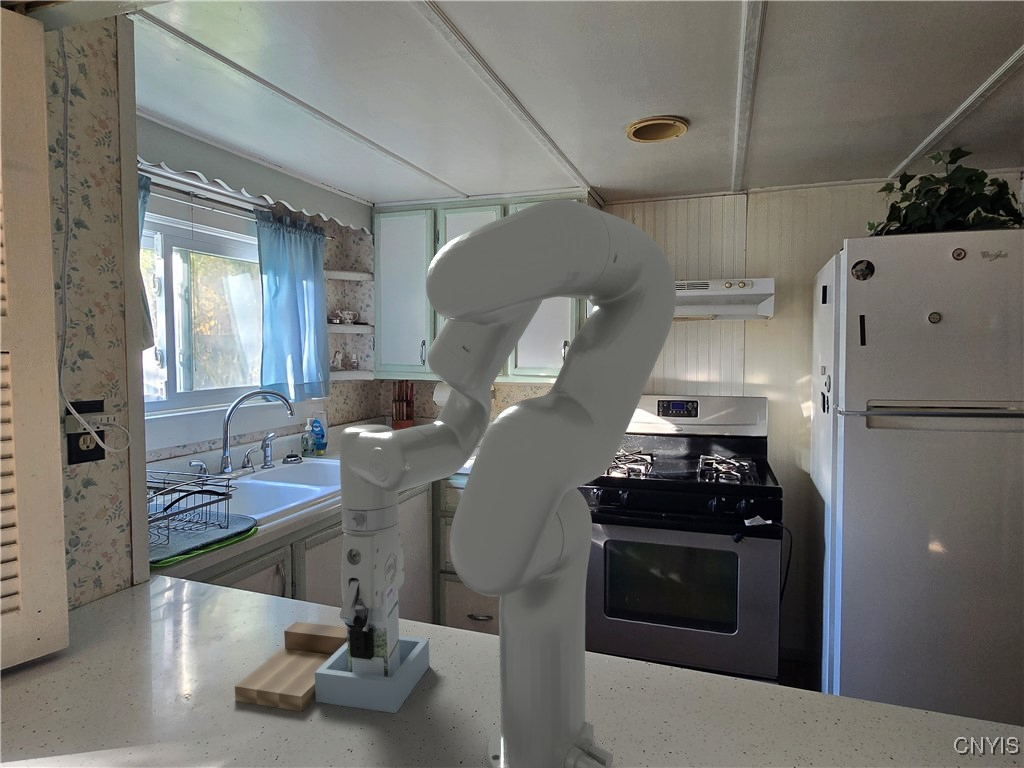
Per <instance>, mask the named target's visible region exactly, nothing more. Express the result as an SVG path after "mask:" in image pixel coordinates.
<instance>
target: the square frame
mask: <svg viewBox="0 0 1024 768" xmlns="http://www.w3.org/2000/svg"><path fill="white" fill-rule="evenodd" d="M399 653H400V667H399V669H398V670H397V671H396V672H395V674H394V675H393V676H392V677H391V678H390V677H383V676H375V675H367V674H360V673H352V672H348V644H347V642H346V643H345V644H344V645H343V646H342V647H341V648H339V649H338V650H337V651H336V652H335V653H334V654H333V655H332V656H331V657H330V658H329V659H328V660H327V661H326V662H325V663H324V664H323V665H322V666H321V667H320V668H319V669H318V670H317V671H315V693H316V698H315V702H316V703H322V702H323V703H324V704H328V705H329V704H330V705H334V706H335V705H337V706H342V705H343V706H344V707H348V708H349V707H350V708H355V709H356V708H357V709H364V710H371V711H376V712H377V711H378V712H384V713H391V714H397V713H398V711H399V710H400V708H401V707H402V705H403V704H404V702H405V701H406V700H407V699H408V697H409V696H410V695H411V693H412V691H413V690H414V689H415V687H416V686H417V685H418V683H419V682H420V680H421V678H422V677H423V675H424V674H425V672H427V671H428V669H429V667H430V639H429V638H423V637H422V638H420V637H411V636H404V635H403V636H402V635H399ZM323 703H322V704H323Z"/></svg>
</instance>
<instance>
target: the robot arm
mask: <svg viewBox="0 0 1024 768" xmlns="http://www.w3.org/2000/svg"><path fill="white" fill-rule="evenodd" d="M425 279H426V280H425V281H426V282H425V288H426V289H425V291H426V296H427V299H428V301H429V304H430V305H431V307H432V309H433V310H434V311H435V312H436V313H437V314H438V315H439V316H440V317H442V318H444V319H445V320H444V323H443V324H442V326H441V328H440V329H439V331H438V333H437V335H436V337H435V339H434V340H433V342H432V344H431V345H430V346H429V347H430V348H429V349H428V351H427V359H426V360H427V364H428V366H429V368H430V370H431V371H432V372H433V374H434V375H435V376H436V378H437V379H439V381H441V382H442V383H443V384H445V385H446V386H447V387H449V388H450V393H449V395H448V397H447V400H446V402H445V404H444V406H443V408H442V409H441V411H440V413H439V414H438V416H437V417H436V419H435V420H434V422H433V423H428V424H424V425H417V426H411V427H407V428H402V429H397V430H394V429H393V428H392V427H391V426H388V425H386V424H385V425H383V424H361V425H353V426H349V427H346V428H344V430H341V433H340V435H339V444H338V445H339V471H340V472H339V475H340V476H339V478H340V479H339V480H340V505H341V506H340V507H341V508H340V509H341V530H342V532H344V533H343V541H342V551H341V552H342V553H341V554H342V555H341V573H340V574H341V577H340V578H341V582H340V583H341V597H342V603H343V604H342V606H341V609H340V612H339V618H340V619H341V620H342V622H344V624H345V626H346V627H347V629H348V630H349V635H350V656H351V657H353V658H360V659H369V660H371V659H372V658H373V657H374V636H373V628H370V625H371V618H372V611H373V610H377V609H378V608H379V607H381V606H382V605H383V591H384V590H385V589H386V588H387V587H388V586H389V587H390V586H392V593H393V594H394V593H395V592H396V591H397V590H398V591H399V589H401V588H402V586H403V584H404V582H405V568H404V567H405V566H404V554H403V553H404V552H403V542H402V535H401V528H400V522H399V514H400V513H399V492H402V491H406V490H410V489H414V488H416V487H419V486H422V485H424V484H428V483H431V482H435V481H438V480H442V479H446V478H449V477H451V476H453V475H454V474H456V473H458V472H459V471H460V470H461V469H462V468H463V467H464V465H466V464H467V462H468V460H469V459H470V458H471V457H472V455H473V454H474V452H475V450H476V449H477V447H478V445H479V444H480V445H479V448H478V450H477V453H476V455H475V458H474V461H473V463H472V467H471V469H470V471H469V474H468V477H467V480H466V483H465V485H464V487H463V491H462V494H461V496H460V499H459V501H458V505H457V507H456V510H455V514H454V516H453V519H452V523H451V527H450V534H449V554H450V559H451V563H452V566H453V569H454V571H455V572H456V575H457V576H458V578H459V579H460V580H461V582H462V584H463V585H464V586H466V588H468V589H470V590H471V591H473V592H474V593H477V594H479V595H482V596H487V597H499V605H498V606H499V607H498V618H499V619H498V625H499V627H498V629H499V630H498V631H499V632H498V633H499V635H498V636H499V685H500V687H499V689H500V691H499V692H500V693H499V696H500V704H499V705H500V726H499V727H498V728H497V729H495V731H494V732H493V733H492V734H491V737H490V738H489V740H488V744H487V748H486V751H487V752H486V755H487V756H486V757H487V765H488V767H489V768H610V767H611V766H612V763H613V760H614V756H613V753H611V752H609V751H607V750H605V749H603V748H600V746H599V743H598V741H597V737H595V735H594V731H595V730H594V727H595V726H594V725H593V724H591V723H589V722H588V721H586V588H587V575H588V566H589V560H590V553H591V546H592V539H593V522H592V521H593V520H592V514H591V510H590V507H589V504H588V502H587V500H586V498H585V496H584V495H583V494H582V492H581V491H580V490H579V489H578V488H580V487H582V486H584V485H586V484H588V483H590V482H592V481H594V480H596V479H598V478H600V477H601V476H603V475H604V473H606V471H607V470H609V469H610V467H611V466H612V464H613V462H614V460H615V458H616V456H617V454H618V451H619V449H620V446H621V444H622V441H623V440H624V437H625V435H626V432H627V430H628V428H629V426H630V423H631V421H632V419H633V417H634V414H635V413H636V410H637V408H638V405H639V403H640V402H641V401H640V400H641V399H642V396H643V393H644V390H645V388H646V385H647V384H648V381H649V378H650V377H651V374H652V372H653V370H654V368H655V365H656V363H657V361H658V358H659V356H660V355H661V353H662V352H661V351H662V350H663V348H664V345H665V343H666V341H667V338H668V336H669V334H670V330H671V328H672V324H673V322H674V316H675V312H676V307H677V306H676V303H677V288H676V279H675V275H674V273H673V269H672V265H671V264H670V262H669V259H668V258H667V257H666V255H665V253H664V251H663V250H662V249H661V247H660V246H659V244H657V243H656V241H655V240H654V239H653V238H652V237H651V236H650V235H649V234H647V233H646V232H645V231H644V230H642V229H641V228H640V227H638V226H637V225H635V224H634V223H632V222H631V221H628V220H626V219H624V218H621V217H619V216H617V215H614V214H611V213H609V212H606V211H604V210H600V209H597V208H595V207H593V206H591V205H589V204H585V203H583V202H580V201H576V200H570V199H562V198H561V199H549V200H545V201H541V202H537V203H536V204H535V203H534V204H533V205H530V206H528V207H525V208H523V209H520V210H518V211H516V212H513V213H511V214H508V215H505V216H504V217H501V218H499V219H496V220H493V221H491V222H489V223H486V224H484V225H481V226H479V227H476V228H474V229H471V230H470V231H466V232H465V233H463V234H461V235H459V236H457V237H455V238H453V239H452V240H450V241H449V242H447V243H446V244H445V245H444V246H443V247H442V248H440V249H439V251H438V252H437V253H436V254H435V256H434V258H433V259H432V261H431V262H430V266H429V268H428V270H427V275H426V278H425ZM552 298H570V299H578V300H587V301H590V302H591V303H592V309H591V311H590V314H589V316H588V318H587V319H586V321H585V322H584V323H583V324H582V326H581V327H580V328H579V330H578V331H577V333H576V334H575V336H574V337H573V339H572V341H571V343H570V344H569V346H568V349H567V352H566V355H565V358H564V361H563V363H562V366H561V368H560V371H559V372H558V375H557V378H556V380H555V381H554V384H553V386H552V387H551V389H550V390H549V391H548V393H546V394H545V395H542V396H537V397H536V396H535V397H530V398H526V399H522V400H519V401H517V402H515V403H512V404H510V405H509V406H508V407H506V408H505V409H503V410H502V411H501V412H500V413H499V414H498V415H497V417H496V418H494V420H493V421H492V423H491V424H490V419H491V413H492V404H493V401H492V400H493V398H492V386H493V384H494V383H495V381H496V379H497V377H498V376H499V374H500V373H501V371H502V370H503V367H504V366H505V365H506V362H507V361H508V360H509V357H510V356H511V354H512V353H513V351H514V349H515V348H516V346H517V345H518V343H519V341H520V340H521V338H522V336H523V335H524V334H525V332H526V330H527V328H528V326H529V325H530V323H532V320H533V318H534V317H535V316H536V314H537V311H538V309H539V308H540V307H541V304H542V302H543V300H547V299H552ZM489 424H490V425H489ZM358 599H361V600H362V601H363V603H364V605H358V604H357V601H358ZM357 610H365V614H364V620H363V619H362V618H361V617H360V616H357Z"/></svg>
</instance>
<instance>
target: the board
mask: <svg viewBox="0 0 1024 768" xmlns="http://www.w3.org/2000/svg"><path fill="white" fill-rule="evenodd" d="M331 656H332V655H327V654H320V653H313V652H305V651H298V650H290V649H285V648H283V647H282V648H280V649H279V650H278V651H277V652H276V653H275V654H274V655H272V656H271V657H270V658H268V659H267V660H266V661H265V662H263V663H261V664H260V666H258V667H257V668H255V669H254V670H253V671H252V672H250V673H249V674H248V675H247V676H246V677H244V678H243V679H242V680H241V681H239V682H238V683H237V684H236V685H235V686H234V697H235V701H236V702H241V703H247V704H254V705H257V706H258V705H259V706H263V707H264V706H266V707H271V708H279V709H282V710H283V709H284V710H289V711H290V710H291V711H296V712H297V711H298V712H301V713H302V712H303V711H304V710H305V709H306V708H308V705H310V704H311V703H312V702H313V701H314V700H316V693H315V671H317V670H318V669H319V668H320V667H321V666H322V665H323V664H324V663H325V662H326V661H327V660H328V659H329V658H330V657H331Z"/></svg>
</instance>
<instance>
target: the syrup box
mask: <svg viewBox="0 0 1024 768" xmlns="http://www.w3.org/2000/svg"><path fill="white" fill-rule="evenodd" d="M357 604H358V605H364V603H363V601H362V600H361V599H358V601H357ZM364 614H365V610H357V616H360V617H361V618H362V619H363V620H364ZM399 618H400V615H399V589H398V590H397V591H396V592H395V593H394V594H393V593H392V586H390V587H389V586H388V587H387V588H386V589H385V590H384V591H383V605H382V606H381V607H379V608H378V609H377V610H373V611H372V618H371V625H370V628H373V636H374V657H373V658H372V659H371V660H369V659H360V658H353V657H351V656H350V635H349V630H348V629H347V644H348V672H352V673H360V674H367V675H375V676H383V677H390V678H391V677H392V676H393V675H394V674H395V672H396V671H397V670H398V669H399V667H400V653H399V636H400V623H399Z"/></svg>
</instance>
